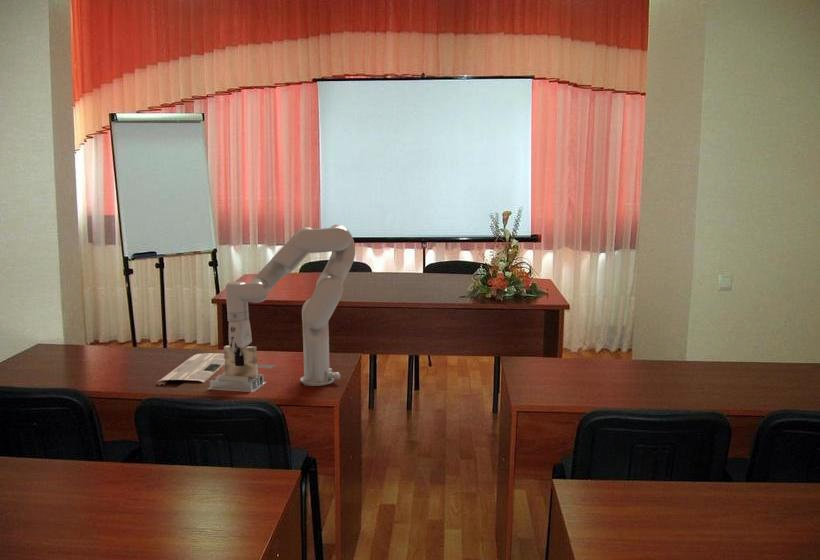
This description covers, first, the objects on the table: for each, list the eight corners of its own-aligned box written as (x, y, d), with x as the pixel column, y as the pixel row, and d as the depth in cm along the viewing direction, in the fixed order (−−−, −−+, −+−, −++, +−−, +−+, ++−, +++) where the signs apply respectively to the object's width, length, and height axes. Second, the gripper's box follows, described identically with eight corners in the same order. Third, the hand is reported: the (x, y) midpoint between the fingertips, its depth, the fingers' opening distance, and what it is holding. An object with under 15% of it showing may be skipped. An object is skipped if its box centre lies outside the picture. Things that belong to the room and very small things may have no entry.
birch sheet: (258, 378, 277) (256, 346, 275) (256, 379, 275) (254, 348, 273) (228, 376, 279) (226, 345, 277) (225, 378, 278) (223, 346, 275)
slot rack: (267, 384, 279) (266, 374, 278) (253, 394, 267) (253, 383, 266) (222, 381, 282) (221, 371, 282) (207, 391, 271) (206, 380, 270)
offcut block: (248, 387, 272) (248, 376, 271) (244, 389, 269) (244, 379, 268) (222, 385, 274) (222, 375, 273) (219, 388, 271) (218, 377, 271)
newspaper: (203, 387, 278) (203, 379, 278) (152, 386, 280) (152, 379, 279) (234, 359, 314) (233, 353, 314) (188, 359, 316) (188, 352, 315)
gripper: (238, 320, 265) (241, 371, 268) (256, 311, 280) (259, 359, 283) (218, 320, 266) (222, 370, 269) (238, 310, 282) (241, 358, 285)
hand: (241, 364), depth 276 cm, fingers closed on birch sheet, 2 cm apart
